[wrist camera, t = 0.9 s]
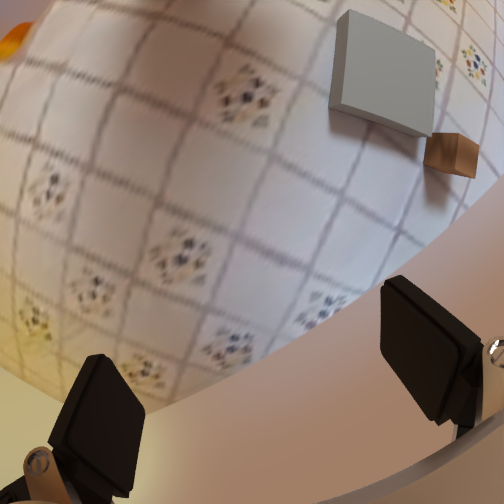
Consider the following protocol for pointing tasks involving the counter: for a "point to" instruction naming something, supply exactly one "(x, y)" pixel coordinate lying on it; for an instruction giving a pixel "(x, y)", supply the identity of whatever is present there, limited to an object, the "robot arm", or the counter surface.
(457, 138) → the walnut block
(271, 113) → the counter surface
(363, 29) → the pedestal
